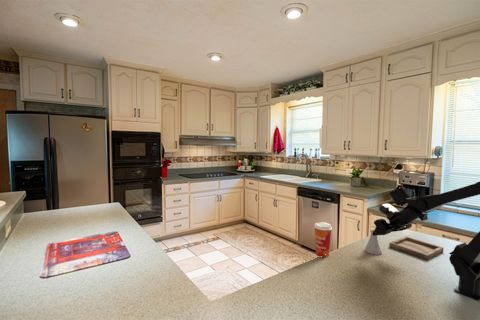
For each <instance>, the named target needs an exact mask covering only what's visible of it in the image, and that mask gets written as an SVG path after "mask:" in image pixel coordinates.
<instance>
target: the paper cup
mask: <svg viewBox="0 0 480 320" xmlns="http://www.w3.org/2000/svg"><path fill="white" fill-rule="evenodd" d="M313 227H314V236H315V237H314V239H315V240H314V241H315V242H314V243H315V255H316V257H320V256H322V257H320V258H328V257H329V256H330V248H331V239H332V238H331V237H332V236H331V235H332V230H333V227H332V224H331V223H330V222H329V223H328V222H324V221H323V222H322V221H319V222H315V224H314V226H313ZM325 254H326V255H325Z"/></svg>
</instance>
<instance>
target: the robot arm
mask: <svg viewBox="0 0 480 320" xmlns="http://www.w3.org/2000/svg"><path fill="white" fill-rule="evenodd" d="M388 196H389V197H390V198H391V200H392V201H393V203H394V204H395V205H396V206H397V207H401V208H402V209H400V210H398V209H397V208H396V207H394V206H393V205H392V204H390V203H383V204H381V205H380V206H379V207H378V210H379V212H380V213H382V214H383V215H385V216H386V219H387V220H388V222H387V220H386V219H385V218H380V219H375V220H374V221H373V224H374V225H375V227H374V229H373V230H374V231H373V233H372V234H373V236H376V235H377V236H387V235H388V234H391V233H394V232H401V231H406V230H409V229H411V228H412V226H413V222H414V221H417V219H419V220H420V221H421V222H423V221H427V220H428V219H429V217H428V213H427V212H429V211H430V212H431V211H434V210H437V209H440V208H441V207H444V206H445V205H447V204H449V203H454V202H457V201H461V200H464V199H468V198H473V197H476V196H480V181H477V182H475V183H473V184H469V185H466V186H462V187H459V188H456V189H452V190H449V191H446V192H443V193H437V194H429V195H422V196H412V195H411V194H410V193H409V191H408V190H407V188H406V187H405V186H400V187H399V188H397V189H394V190H392V191H391V192H389V193H388ZM448 253H449V255H450V256H449V258H448V261H449V262H450V264H451V265H452V267H453V270H454V272H455V275H456V276H458V285H457V286H456V287H455V288H453V291H454V292H456V293H459V294H461V295H463V296H466V297H469V298H471V299H474V300H476V301H480V230H479V231H478V233H476V235H475V236H473V238H472V239H471V240H470V241H469V243H466V242H461V243H459V244H457V245H455V247H454V249H453V250H452V251H451V252H448Z"/></svg>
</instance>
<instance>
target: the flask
mask: <svg viewBox="0 0 480 320" xmlns="http://www.w3.org/2000/svg"><path fill="white" fill-rule="evenodd" d="M374 230H375V229H370V230H369V231H370V236H369V239H368V242H367V243H366V245H365V248H364V252H366V253H367V254H371V255H377V256H379V255H382V248H381V246H380V244H379V240H378V235H376V236H373V234H372V233H373V231H374Z"/></svg>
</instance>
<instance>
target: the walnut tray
mask: <svg viewBox="0 0 480 320" xmlns="http://www.w3.org/2000/svg"><path fill="white" fill-rule="evenodd" d="M388 247H389V248H391V249H394V250H397V251H399V252H402V253H405V254H407V255H408V254H409V255H411V256H414V257H416V258H419V259H422V260H425V261H430V260H431V259H433V258H435V257H437V256H438V255H440V254H442V253H444V247H443V246H439V245H436V244H433V243H430V242H427V241H423V240H420V239H416V238H413V237H410V236H406V235H405V236H403V237H400V238H398V239H395V240H393V241H390V242H389V246H388Z"/></svg>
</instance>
